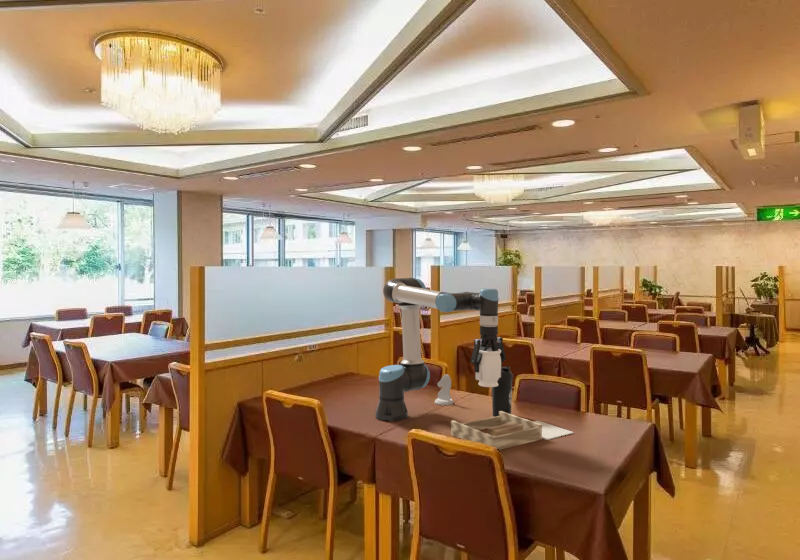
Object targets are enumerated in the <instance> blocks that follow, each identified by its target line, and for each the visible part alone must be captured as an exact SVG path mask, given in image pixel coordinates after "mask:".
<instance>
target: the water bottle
mask: <svg viewBox="0 0 800 560" xmlns="http://www.w3.org/2000/svg"><path fill="white" fill-rule="evenodd" d="M513 378H514V374H513V372H512V371H511V366H502V369H501V378H499V379H498V381H497V383H498V386H496V387H491V396H492V397H491V401H492V403H491V404H492V417H495V416H499V411H503V412H506V413H509V414H512V401H513V400H512V398H513Z"/></svg>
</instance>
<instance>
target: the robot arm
mask: <svg viewBox="0 0 800 560" xmlns="http://www.w3.org/2000/svg"><path fill="white" fill-rule="evenodd" d="M382 290H383V291H382V293H383V295H384V298H385V300H387V301H388V302H390V303H396V304H397V307H398V308H399V309H400V311H401V328H402V330H401V331H402V332H401V333H402V353H403V354H402V357H403V359H402V360H401V361H400V364H392V365H386V366H384V367H382V368H380V370H379V375H378V390H379V392H378V396H379V397H378V402H377V407H376V409H375V418H376V419H377V420H380V421H383V420H388V421H387V422H397V421H396V420H399V421H404V420H406V419H408V418H409V413H408V409H407V405H406V403H405V393H407V392H411V391H418V390H420V389H424V388H425V387H426V386H427V385H428V384H429V382H430V377H431V372H430V370H429V368H428V366H427V365H426V364H425V361H424V359H422V348H421V346H422V345H421V344H422V343H421V327H420V325H421V324H420V323H421V322H420V308H421V307H426V308H430V309H431V308H432V309H436V310H438V311H439V312H441V313H450V312H462V311H479V325H480V326H479V335H480V338H479V339H478V338H477V339H476V338H474V339H473V341H474V343H473V344H474V345H473V350H472V353H471V357H470V360H469V361H470V363H471V364H474V373H475V380H476V381H481V365H480V362H481V360H482V354H480V353H479V350H481V351H486V350H487V348H491V349H492V351H499V350H498V349H500V350H501V353H500V357H501V369H502V367H503V363H504V362H505V360H507V356H506V351H505V347H504V343H503V342H504V338H503V337H500V336H498V335H499V326H498V325H499V300H500V298H499V291H498V289H497V288H481V289H480V290H479V292H473V291H472V292H470V291H462V292H457V293H456V292H455V293H454V292H446V291H445V292H444V291H439V290H433V289H427V287H426V285H425V283H424V282H423V281H422V280H421V279H420V278H416V277H415V278H414V277H406V278H405V277H402V278H401V277H400V278H398V277H397V278H391V279H389V280H387V282H385V284H384V286H383V289H382ZM499 378H501V370H500V376H499ZM403 419H404V420H403Z"/></svg>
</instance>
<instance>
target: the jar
mask: <svg viewBox="0 0 800 560" xmlns="http://www.w3.org/2000/svg"><path fill="white" fill-rule="evenodd" d="M498 350H499V351H492V349H491V348H487V350H486V351H481V350H479V353H480V354H482V360H481V362H480V365H481V381H479V380H478V381H479V382H478V386H479V387H484V388H492V387H496V386H498V383H497V381H498V379H499V376H500V370H501V357H500V353H501V350H500V349H498Z"/></svg>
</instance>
